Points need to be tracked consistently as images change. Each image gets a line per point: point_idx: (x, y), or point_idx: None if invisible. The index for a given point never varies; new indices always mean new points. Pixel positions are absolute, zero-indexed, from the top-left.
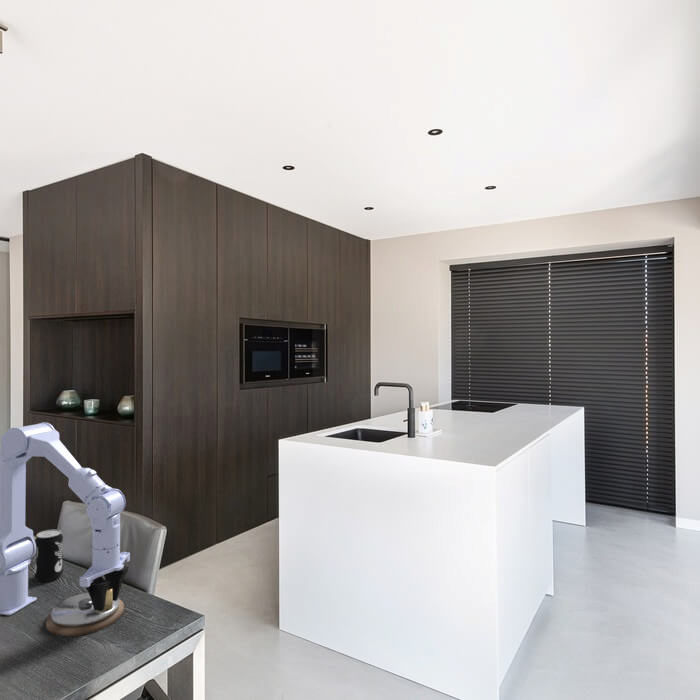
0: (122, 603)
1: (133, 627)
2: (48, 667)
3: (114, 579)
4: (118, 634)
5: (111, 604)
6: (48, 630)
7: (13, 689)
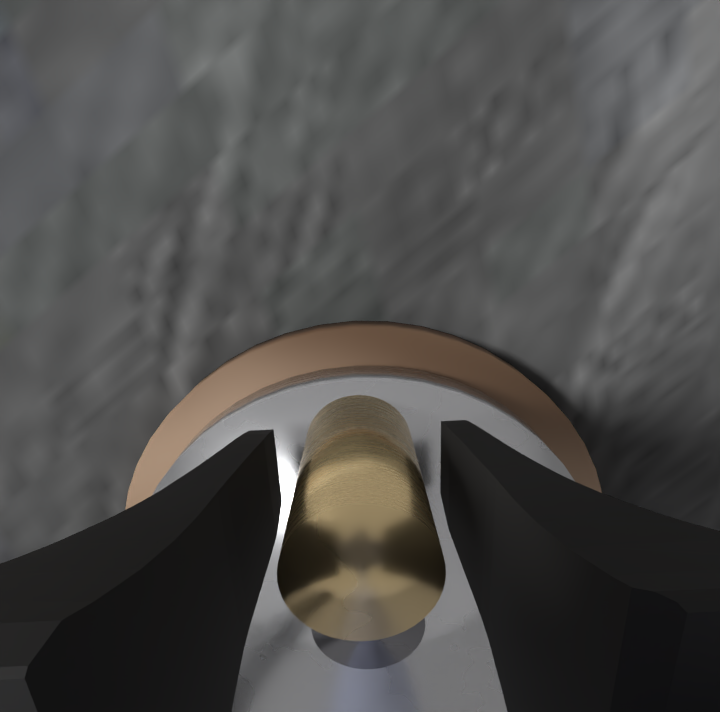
0: (172, 421)
1: (396, 123)
2: None
3: (197, 627)
4: (513, 173)
5: (355, 411)
6: None
7: None
